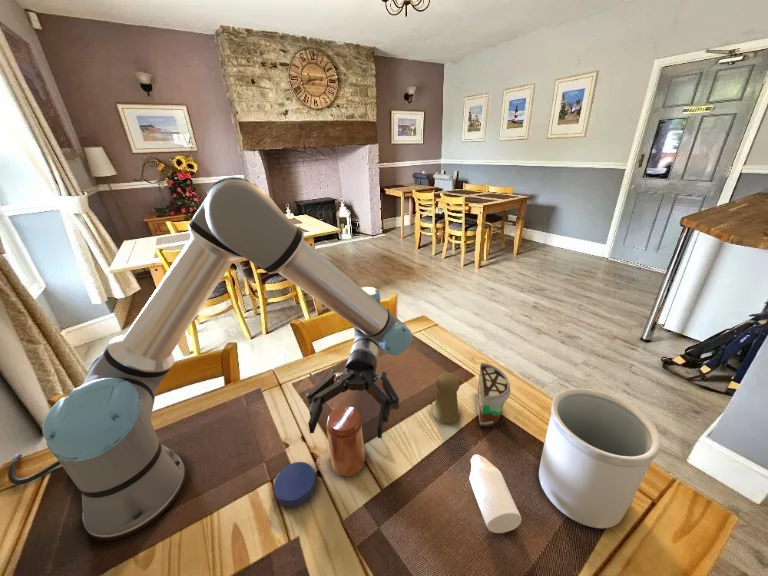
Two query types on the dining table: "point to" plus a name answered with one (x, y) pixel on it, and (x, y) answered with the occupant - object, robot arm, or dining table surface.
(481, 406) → the food container
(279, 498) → the lid
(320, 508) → the dining table surface
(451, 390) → the olive brown pawn
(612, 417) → the utensil holder
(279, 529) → the dining table surface
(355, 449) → the jar
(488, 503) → the white dropper bottle
